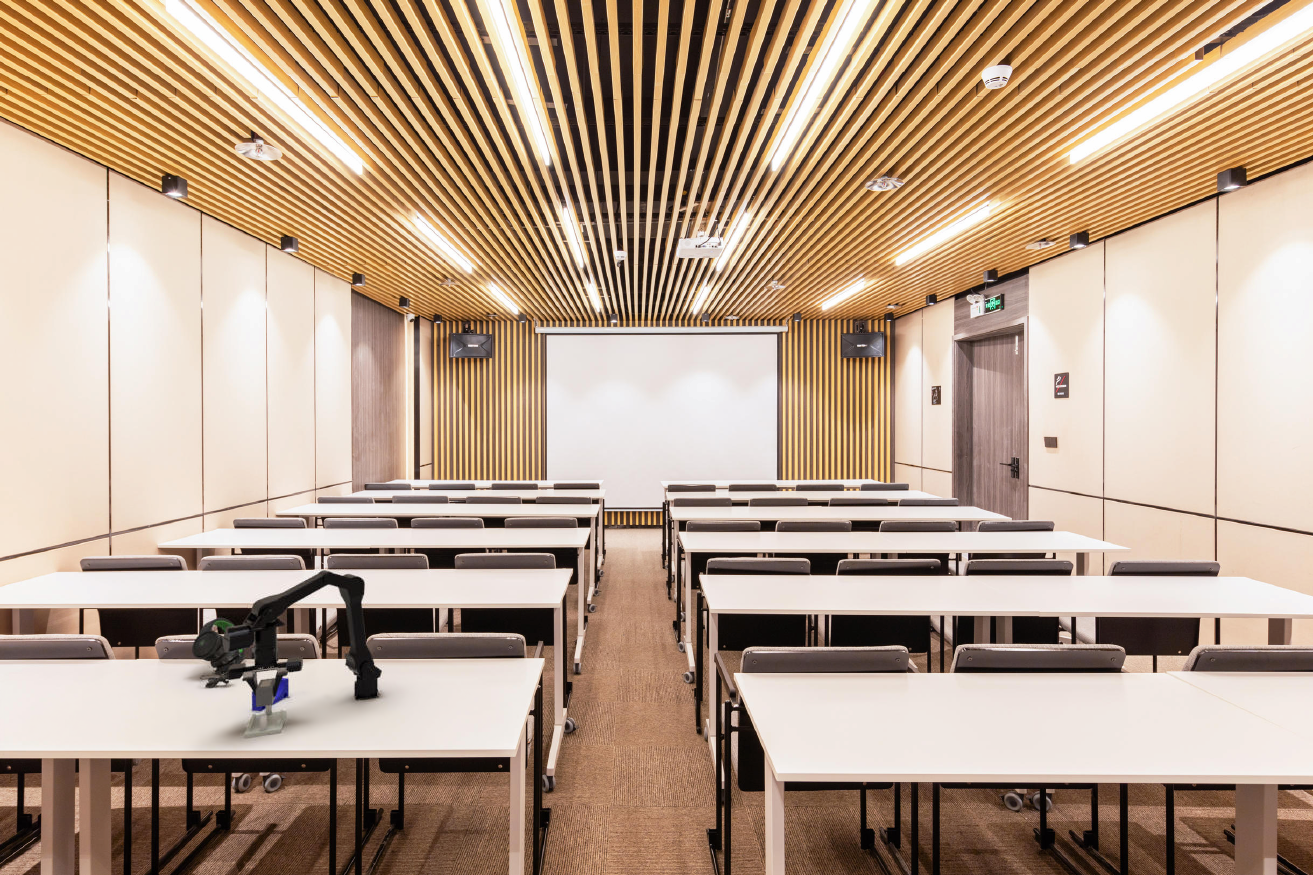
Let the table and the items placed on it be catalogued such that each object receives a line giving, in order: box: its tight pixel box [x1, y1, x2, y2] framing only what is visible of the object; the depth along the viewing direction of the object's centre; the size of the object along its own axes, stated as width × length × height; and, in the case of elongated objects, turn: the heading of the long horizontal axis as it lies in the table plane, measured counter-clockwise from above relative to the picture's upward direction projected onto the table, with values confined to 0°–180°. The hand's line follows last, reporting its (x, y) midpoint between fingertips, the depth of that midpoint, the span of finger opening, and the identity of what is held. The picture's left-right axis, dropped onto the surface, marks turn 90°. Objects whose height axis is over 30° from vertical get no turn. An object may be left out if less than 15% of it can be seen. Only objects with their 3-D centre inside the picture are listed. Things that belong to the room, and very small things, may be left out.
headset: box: [191, 617, 245, 688], centre depth 241 cm, size 18×14×29 cm
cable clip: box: [251, 677, 290, 712], centre depth 216 cm, size 12×4×6 cm, turn 169°
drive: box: [256, 677, 276, 707], centre depth 200 cm, size 4×8×5 cm, turn 21°
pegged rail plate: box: [243, 705, 287, 739], centre depth 200 cm, size 9×14×5 cm, turn 23°
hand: (266, 697), depth 200 cm, fingers closed on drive, 4 cm apart
